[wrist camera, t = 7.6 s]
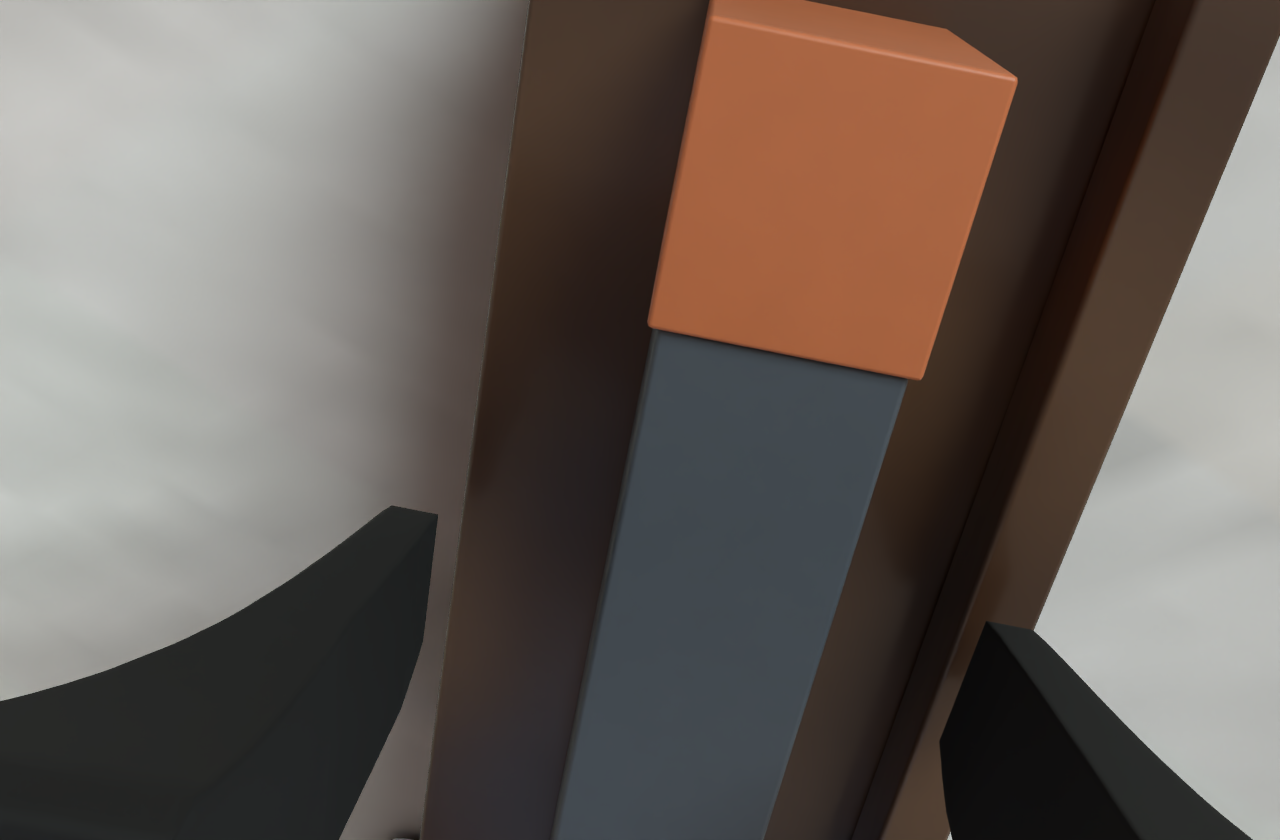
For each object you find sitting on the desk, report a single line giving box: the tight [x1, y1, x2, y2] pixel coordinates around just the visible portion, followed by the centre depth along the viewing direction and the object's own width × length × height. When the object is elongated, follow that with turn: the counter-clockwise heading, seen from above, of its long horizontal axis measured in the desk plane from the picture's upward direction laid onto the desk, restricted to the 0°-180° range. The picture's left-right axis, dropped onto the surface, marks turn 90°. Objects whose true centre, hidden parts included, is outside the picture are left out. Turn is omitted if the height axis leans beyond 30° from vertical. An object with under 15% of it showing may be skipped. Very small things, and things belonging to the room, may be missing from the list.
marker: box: [550, 0, 1018, 840], centre depth 15 cm, size 15×3×4 cm, turn 170°
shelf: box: [420, 0, 1280, 840], centre depth 18 cm, size 18×8×6 cm, turn 170°
